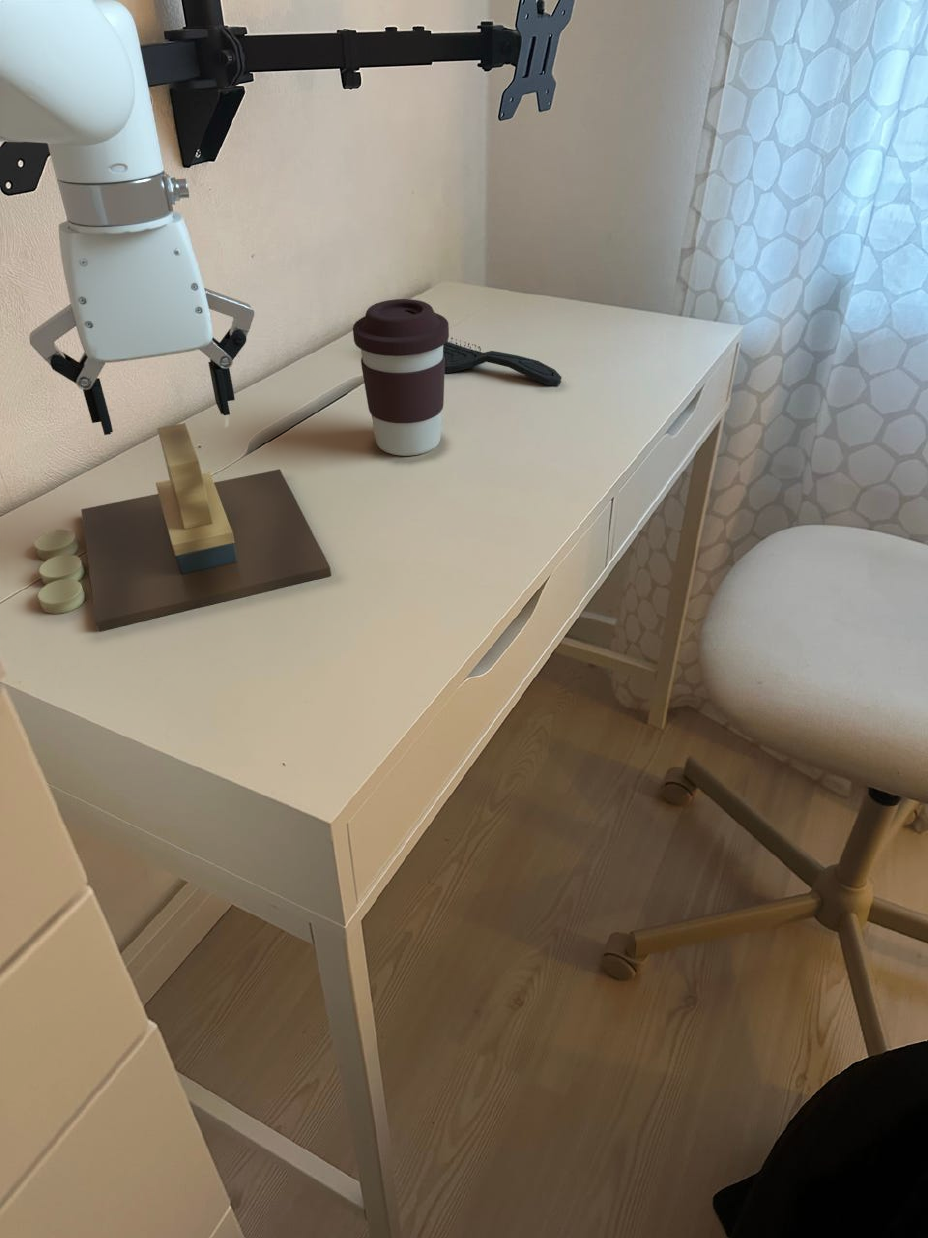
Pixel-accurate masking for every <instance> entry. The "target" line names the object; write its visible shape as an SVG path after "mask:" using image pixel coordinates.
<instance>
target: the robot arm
mask: <svg viewBox="0 0 928 1238" xmlns="http://www.w3.org/2000/svg"><path fill="white" fill-rule="evenodd" d="M155 121H156V120H155V116H154V110H153V105H152V100H151V94H150V89H149V85H148V78H147V74H146V68H145V64H144V59H143V53H142V49H141V43H140V38H139V34H138V30H137V26H136V22H135V20H134V18H133V15H132V14H131V12H130V11H129V9H128V8H127V7H126V6H125V5H123V3H121V2H119V1H116V0H0V142H6V143H39V144H47V147H48V152H49V154H50V159H51V162H52V166H53V169H54V174H55V177H56V182H57V185H58V190H59V193H60V198H61V201H62V205H63V209H64V213H65V216H66V221H63V222H61V223H60V224H58V240H59V249H60V258H61V264H62V268H63V275H64V279H65V284H66V288H67V293H68V298H69V302H70V303H69V304H68V305H66V307H64V308H63V309H62V310H60V311H58V312H57V313H56V314H54V315H53V316H52V317H50V318H48V319H47V320H46V321H45V322H42V323H41V324H40V325H39V326H37V327H36V328H35V329H33V330H32V331H31V332H30V333H29V338H28V339H29V340H28V341H29V345H30V346H31V347H32V348H33V349H34V350H35V351H36V352H37V353H38V354H39V355H40V357H41V358H42V359H43V360H44V361H45V362H47V363H48V365H49V366H50V367H51V369H52V370H53V371H55V372H56V373H58V374H59V375H61V376H62V377H64V378H66V379H67V380H69V381H71V382H73V383H74V384H76V386H77V387H78V388H79V389H80V390H82V392H83V396H84V398H85V403H86V406H87V410H88V413H89V417H90V421H91V423H92V424H95V423H100V424H101V427H102V431H103V435H104V436H106V435H107V436H108V435H111V434H112V433H113V432H114V429H113V425H112V420H111V415H110V413H109V408H108V405H107V402H106V398H105V393H104V390H103V387H102V382H101V378H100V377H99V375H100V374H101V372H102V370H103V369H104V367H105V365H106V363H107V364H108V363H109V364H110V363H120V362H121V363H122V362H128V361H135V360H143V359H149V358H157V357H163V356H164V357H165V356H169V355H175V354H177V355H178V354H184V353H190V352H196V351H200V352H201V353H203V354H204V355H205V356H206V357H208V358H209V361H208V368H209V373H210V374H209V375H210V379H211V384H212V390H213V395H214V400H215V404H216V406H217V409H218V410H219V412H220V415H223V416H229V415H231V412H230V411H231V410H230V406H229V402H232V401H235V392H234V386H233V381H232V376H231V375H232V374H231V370H230V368H231V367H232V366H233V362H234V361H233V360H235V358H236V357H237V355H238V354H239V353H240V352H241V350H242V349H243V348H244V346H245V345H246V343H247V339H248V338H247V336H248V334H249V332H250V329H251V326H252V324H253V320H254V317H255V311H254V309H253V308H252V306H251V305H250V304H249V303H247V302H244V301H241V300H239V299H236V298H233V297H230V296H227V295H225V294H223V293H220V292H216V291H214V290H211V289H208V288H206V287H205V286H204V282H203V278H202V274H201V270H200V267H199V262H198V260H197V257H196V253H195V251H194V248H193V243H192V240H191V239H192V238H191V236H190V233H189V230H188V227H187V225H186V222H185V219H184V217H183V215H182V213H180V212H178V211H175V210H174V208H173V206H174V205H176V202H179V201H181V200H180V199H189V198H190V192H189V191H190V190H189V186H188V182H187V179H186V178H176V177H171V176H170V175H169V174H167V173H166V172H165V168H164V163H163V158H162V153H161V147H160V143H159V136H158V131H157V125H156V122H155ZM210 310H211V311H215V312H217V313H220V314H223V315H226V316H229V317H231V318H232V322H231V326H230V328H229V329H228V331H227V332H226V333H225V335H224V336H223V337H222V339H221V340H220V341H219V340H218V339H217V338H216V337H215V336H214V331H213V323H212V318H211V313H210ZM74 328H76V331H77V335H78V337H79V340H80V344H81V346H82V349H83V353H82V355H81V357H80V359H79V361H77V360H76V359H74V358H73V357H71V356H70V355H68V354H66V353H65V352H64V351H61V349H60V348H59V347H58V345H56V341H57V340H58V339H60V338H61V337H63V336H64V335H65V334H67V333H68V332H70V331H71V330H73V329H74Z"/></svg>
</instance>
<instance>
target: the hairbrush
mask: <svg viewBox="0 0 928 1238" xmlns="http://www.w3.org/2000/svg"><path fill="white" fill-rule="evenodd" d="M450 339H451V341H453V339H454V337H450ZM451 341H449V339H448V340H447V342H446V343H445V344H444V345H443V353H444V356H445V373H446V374H447V373H449V374H450V373H455V372H459V371H463V370H468V369H472V368H474V367H478V366H479V365H482V364H485V363H490V364H494V365H498V366H503V367H506V368H508V369H511V370H514V371H515V372H517V373H520V374H522V375H523V376H525V377H527V378H529V379H532V380H534V381H537V382H539V383H542V384H544V385H546V386H555V387H559V386H560V384H561V383H562V375H560V373H558V371H557V370H556V369H554V368H553V367H551V366H549V365H547V364H545V363H543V362H541V361H540V360H538V359H537V360H536V359H533V358H529V357H525V356H521V355H517V354H512V353H506V352H501V351H496V350H489V351H485V352H482V351H481V350H482V349H481V348H482V347H481V346H480V345H478V346H477V344H475V343H474V344H471V346H474V347H475V348H477V349H478V350H477V349H472V347H471V346H470V343H468V342H466V341H464V345H461V344H462V340H460V341H459V342H460V343H459V345H458V342H457V341H458V340H457V338H455V341H456V342H455V343H454V342H451ZM466 343H467V346H466ZM445 373H444V374H445Z"/></svg>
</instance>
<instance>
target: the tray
mask: <svg viewBox="0 0 928 1238" xmlns="http://www.w3.org/2000/svg"><path fill="white" fill-rule="evenodd" d="M213 482H214V484H215V487H216V490H217V492H218V495H219V498H220V500H221V503H222V506H223V508H224V511H225V514H226V516H227V519H228V522H229V524H230V527H231V530H232V532H233V537H234V547H235V552H236V557H237V562H234V563H229V564H225V565H221V566H216V567H212V568H208V569H203V570H199V571H194V572H190V573H186V574H181V572H180V568H179V565H178V561H177V557H176V556H175V554H174V550H173V547H172V543H171V539H170V535H169V532H168V528H167V524H166V521H165V517H164V513H163V509H162V506H161V502H160V498H159V494H158V493H155V494H150V495H145V496H140V497H136V498H135V497H134V498H131V499H126V500H121V501H115V502H111V503H110V502H109V503H106V504H101V505H96V506H90V507H85V508H81V518H82V525H83V532H84V540H85V546H86V547H85V551H86V557H87V562H88V563H87V564H88V573H89V580H90V589H91V596H92V604H93V613H94V621H95V625H96V628H97V630H98V632H102V631H103V632H104V631H107V630H112V629H115V628H120V627H123V626H124V627H125V626H128V625H132V624H136V623H141V622H144V621H145V622H146V621H149V620H153V619H157V618H161V617H166V616H169V615H173V614H178V613H182V612H186V611H190V610H195V609H199V608H202V607H207V606H211V605H215V604H220V603H222V602H227V601H232V600H236V599H240V598H245V597H249V596H253V595H256V594H261V593H265V592H269V591H274V590H278V589H282V588H286V587H290V586H294V585H298V584H299V585H300V584H302V583H307V582H311V581H316V580H320V579H324V578H328V577H332V571H331V566H330V563H329V561H327V558H326V556H325V554H324V552H323V550H322V548H321V547H320V544H319V543H318V542H319V541H317V538H316V536H315V535H314V532H313V531H312V529H311V527H310V525H309V523H308V521H307V519H306V517H305V516H304V513H303V511H302V509H301V507H300V505H299V503H298V502H297V499H296V498H295V496H294V494H293V492H292V490H291V487H290V486H289V484H288V482H287V481H286V478H285V476H284V474H283V472H282V470H281V469H280V468H279V469H274V470H268V471H264V472H259V473H255V474H248V475H244V476H240V477H234V478H229V479H223V480H219V481H213Z"/></svg>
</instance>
